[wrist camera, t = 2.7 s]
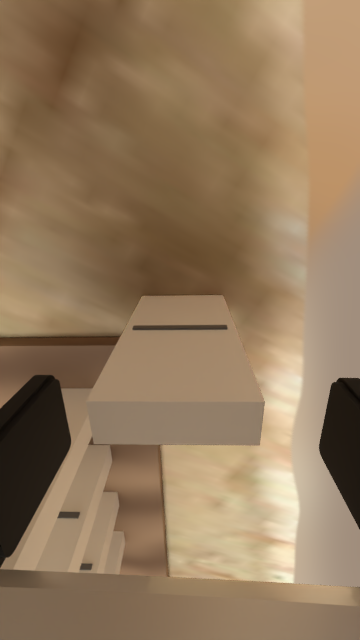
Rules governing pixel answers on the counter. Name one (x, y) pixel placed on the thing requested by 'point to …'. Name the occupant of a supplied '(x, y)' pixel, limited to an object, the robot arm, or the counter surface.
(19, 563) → the domino
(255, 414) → the domino
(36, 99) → the counter surface
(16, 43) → the counter surface
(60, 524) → the domino
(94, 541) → the domino
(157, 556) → the walnut board
